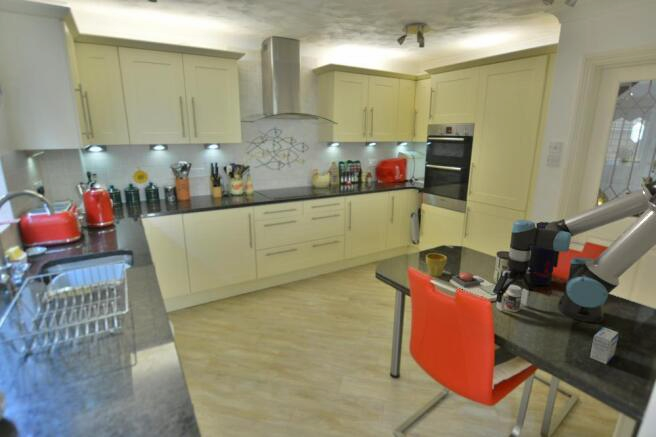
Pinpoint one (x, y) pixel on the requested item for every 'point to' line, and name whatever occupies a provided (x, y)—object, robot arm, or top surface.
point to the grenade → (542, 262)
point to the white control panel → (476, 287)
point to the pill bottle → (513, 298)
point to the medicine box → (604, 345)
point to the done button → (466, 277)
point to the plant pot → (435, 264)
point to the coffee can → (501, 265)
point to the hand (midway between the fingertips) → (511, 306)
